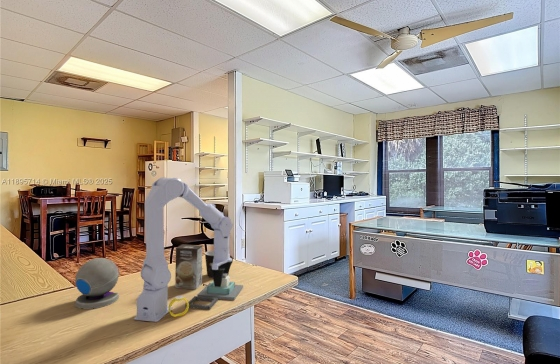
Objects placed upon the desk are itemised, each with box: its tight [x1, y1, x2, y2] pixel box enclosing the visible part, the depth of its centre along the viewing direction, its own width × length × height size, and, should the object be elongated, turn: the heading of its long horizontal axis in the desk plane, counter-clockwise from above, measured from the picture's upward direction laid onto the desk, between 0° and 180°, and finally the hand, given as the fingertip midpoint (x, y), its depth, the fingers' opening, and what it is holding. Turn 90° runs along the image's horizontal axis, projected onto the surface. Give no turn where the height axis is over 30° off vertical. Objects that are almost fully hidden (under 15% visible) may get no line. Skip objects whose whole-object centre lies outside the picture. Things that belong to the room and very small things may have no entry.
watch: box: [168, 295, 190, 318], centre depth 94 cm, size 6×3×6 cm, turn 121°
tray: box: [185, 295, 219, 310], centre depth 103 cm, size 7×9×1 cm
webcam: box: [74, 257, 120, 310], centre depth 104 cm, size 13×13×15 cm
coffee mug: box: [204, 250, 234, 279], centre depth 132 cm, size 12×9×10 cm
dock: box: [196, 281, 244, 301], centre depth 113 cm, size 12×14×3 cm
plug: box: [214, 273, 231, 288], centre depth 113 cm, size 4×5×6 cm
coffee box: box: [174, 243, 203, 290], centre depth 119 cm, size 9×6×16 cm
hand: (221, 282), depth 113 cm, fingers open, 7 cm apart
